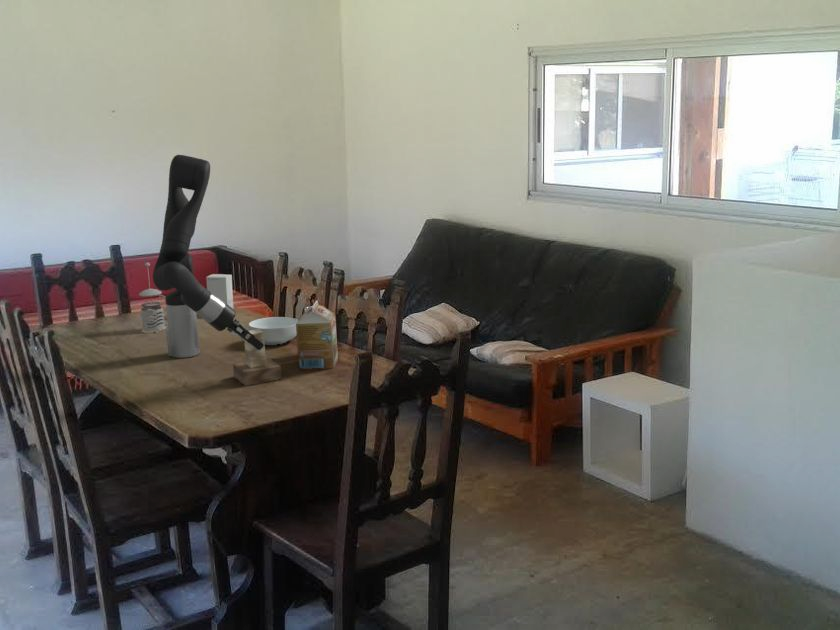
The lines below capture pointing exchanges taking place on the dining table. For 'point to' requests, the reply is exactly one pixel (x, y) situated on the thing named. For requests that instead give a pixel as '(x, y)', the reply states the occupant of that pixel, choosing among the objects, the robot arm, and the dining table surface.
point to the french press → (152, 305)
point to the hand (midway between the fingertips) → (256, 344)
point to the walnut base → (257, 372)
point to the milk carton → (317, 338)
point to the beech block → (255, 350)
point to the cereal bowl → (275, 329)
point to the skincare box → (221, 287)
